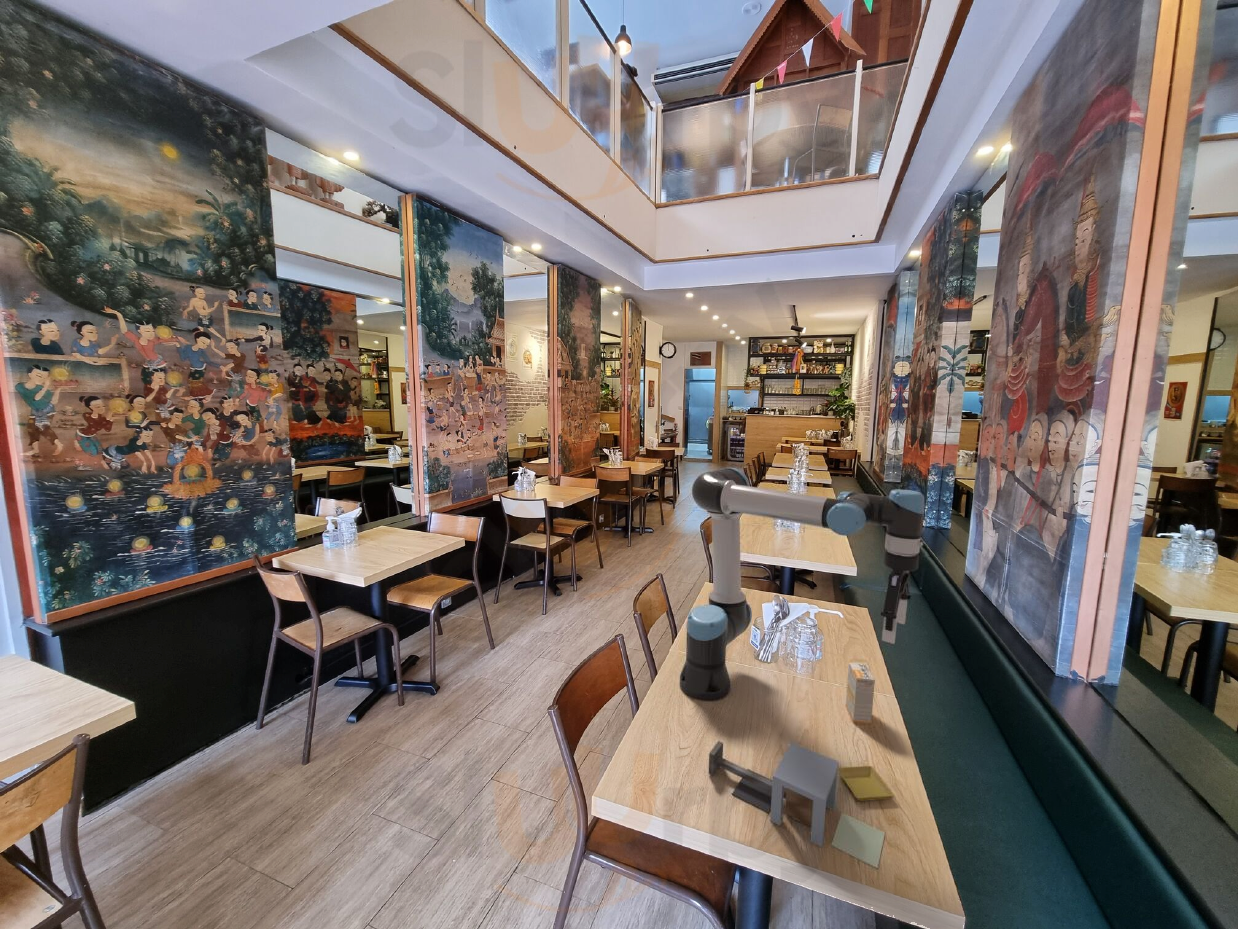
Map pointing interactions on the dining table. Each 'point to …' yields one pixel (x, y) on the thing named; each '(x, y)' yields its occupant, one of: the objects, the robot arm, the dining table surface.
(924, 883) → the dining table surface
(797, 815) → the push rod
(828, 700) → the dining table surface
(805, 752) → the tunnel
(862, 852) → the pad
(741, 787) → the mat
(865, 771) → the yellow tray
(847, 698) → the supplement box
